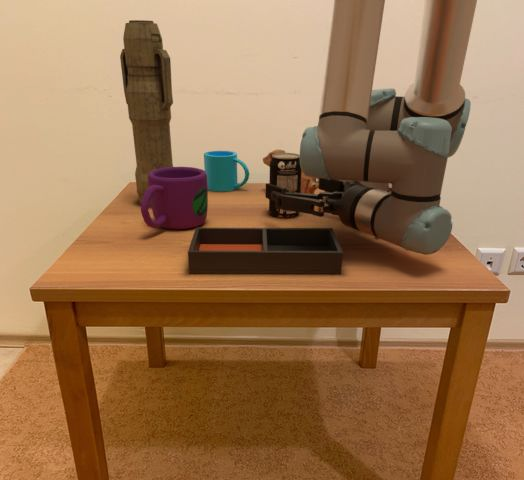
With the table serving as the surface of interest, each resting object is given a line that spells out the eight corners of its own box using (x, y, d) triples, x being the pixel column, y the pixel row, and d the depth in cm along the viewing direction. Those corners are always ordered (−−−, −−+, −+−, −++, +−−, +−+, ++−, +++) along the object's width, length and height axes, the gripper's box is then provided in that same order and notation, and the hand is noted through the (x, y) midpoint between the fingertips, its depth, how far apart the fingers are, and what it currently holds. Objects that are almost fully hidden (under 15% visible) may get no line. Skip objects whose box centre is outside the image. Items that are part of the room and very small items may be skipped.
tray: (196, 247, 91) (195, 227, 90) (330, 247, 92) (332, 228, 90) (189, 273, 81) (187, 251, 79) (341, 274, 81) (343, 252, 79)
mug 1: (173, 212, 110) (169, 164, 105) (219, 219, 106) (217, 169, 101) (121, 235, 97) (113, 181, 91) (171, 244, 92) (166, 188, 87)
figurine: (270, 187, 130) (271, 146, 125) (328, 196, 123) (331, 152, 118) (256, 193, 125) (256, 150, 120) (315, 203, 118) (318, 157, 113)
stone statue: (169, 210, 111) (154, 19, 94) (125, 203, 115) (102, 20, 98) (190, 200, 118) (179, 21, 101) (148, 195, 122) (130, 22, 105)
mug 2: (199, 189, 128) (197, 154, 124) (216, 182, 134) (215, 149, 130) (241, 194, 124) (240, 159, 119) (256, 187, 130) (256, 153, 126)
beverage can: (281, 208, 114) (283, 151, 108) (305, 213, 110) (308, 155, 104) (262, 214, 109) (263, 155, 103) (287, 220, 106) (289, 159, 100)
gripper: (311, 244, 85) (243, 213, 100) (413, 220, 97) (339, 196, 112) (314, 198, 81) (242, 174, 96) (420, 180, 93) (342, 160, 108)
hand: (294, 186), depth 104 cm, fingers open, 13 cm apart
